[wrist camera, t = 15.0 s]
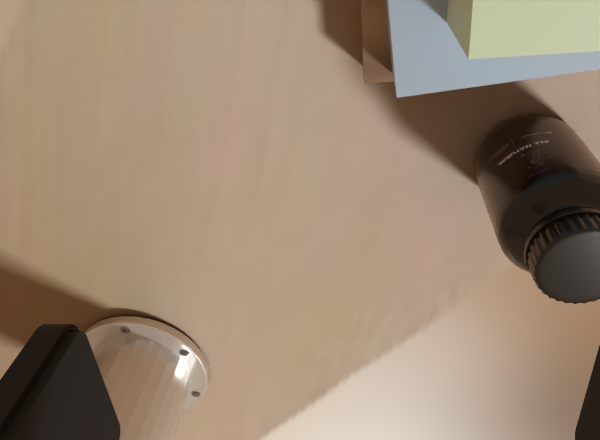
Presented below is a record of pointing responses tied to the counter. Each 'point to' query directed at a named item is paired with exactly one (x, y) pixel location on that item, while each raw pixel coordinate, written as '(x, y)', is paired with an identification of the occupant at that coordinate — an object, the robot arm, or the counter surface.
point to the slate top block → (458, 54)
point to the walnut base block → (375, 42)
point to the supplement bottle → (544, 204)
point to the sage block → (524, 27)
